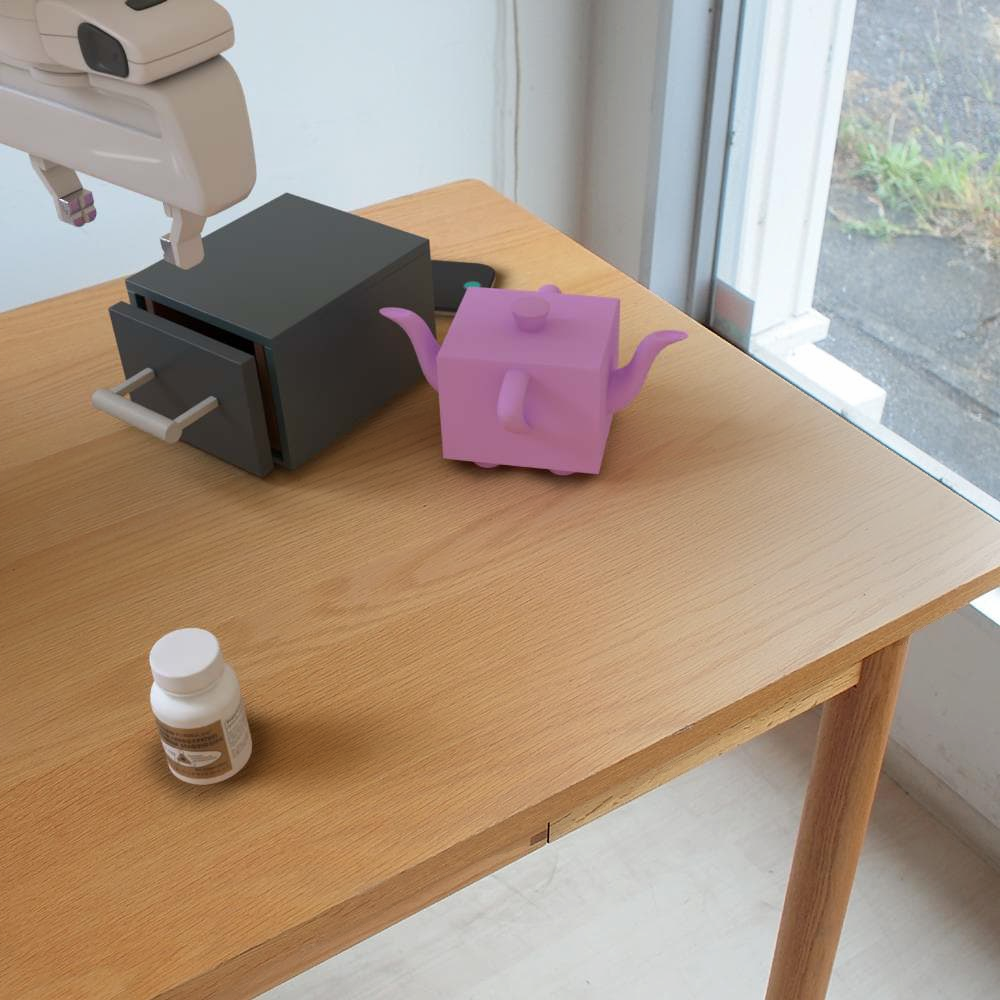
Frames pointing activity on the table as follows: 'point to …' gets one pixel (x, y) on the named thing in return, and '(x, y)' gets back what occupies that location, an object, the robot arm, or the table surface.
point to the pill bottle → (198, 707)
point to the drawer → (193, 385)
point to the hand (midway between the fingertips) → (130, 241)
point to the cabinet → (309, 310)
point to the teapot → (531, 376)
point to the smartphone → (457, 283)
